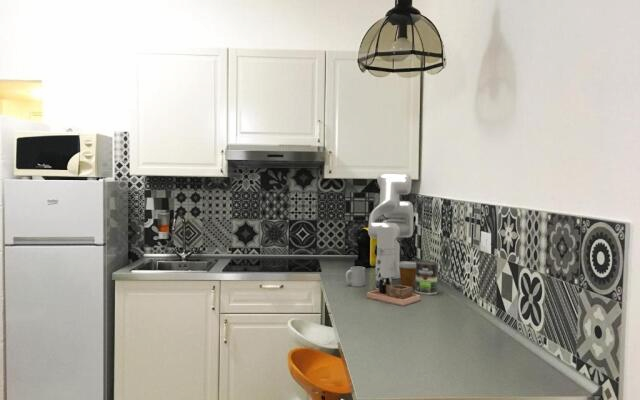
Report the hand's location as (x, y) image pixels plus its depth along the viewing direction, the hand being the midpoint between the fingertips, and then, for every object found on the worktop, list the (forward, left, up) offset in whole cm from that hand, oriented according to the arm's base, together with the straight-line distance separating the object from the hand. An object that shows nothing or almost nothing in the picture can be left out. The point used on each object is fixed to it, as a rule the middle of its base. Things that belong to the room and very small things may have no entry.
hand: (384, 292), depth 210 cm
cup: (-10, -25, -3) cm, 28 cm away
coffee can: (-23, +8, -3) cm, 24 cm away
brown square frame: (0, +5, 0) cm, 5 cm away
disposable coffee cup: (-27, -5, -3) cm, 28 cm away
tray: (0, +5, -2) cm, 5 cm away
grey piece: (-12, -12, -2) cm, 17 cm away
